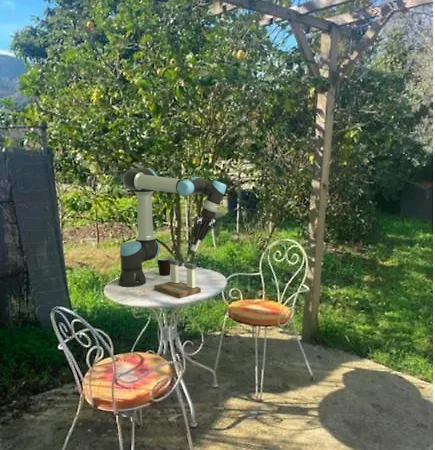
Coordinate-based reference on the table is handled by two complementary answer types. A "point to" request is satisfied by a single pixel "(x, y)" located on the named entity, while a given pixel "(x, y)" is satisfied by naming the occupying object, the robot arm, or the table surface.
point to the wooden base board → (176, 289)
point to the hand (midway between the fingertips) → (193, 250)
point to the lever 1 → (174, 270)
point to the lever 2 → (190, 275)
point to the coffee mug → (164, 266)
